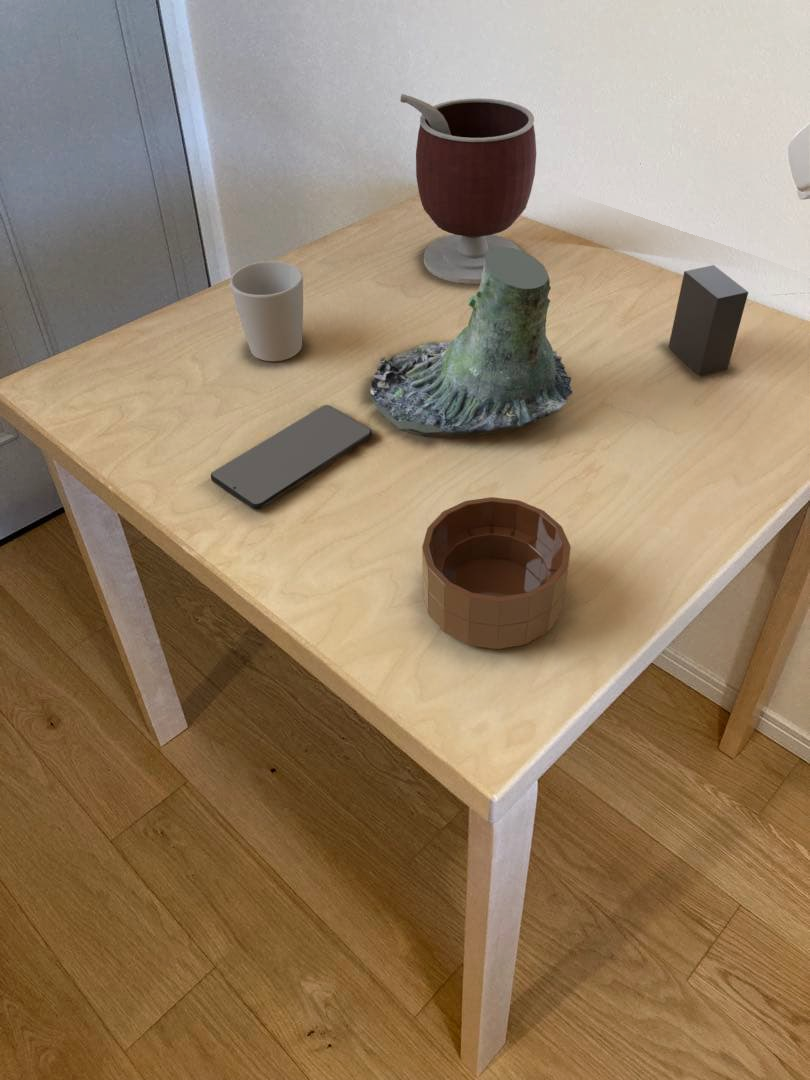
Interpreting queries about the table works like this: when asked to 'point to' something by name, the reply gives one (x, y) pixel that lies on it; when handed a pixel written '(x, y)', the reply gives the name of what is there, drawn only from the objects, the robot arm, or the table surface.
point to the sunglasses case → (707, 319)
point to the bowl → (495, 572)
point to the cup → (270, 308)
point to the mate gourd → (472, 178)
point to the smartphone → (290, 456)
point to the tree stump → (481, 361)
